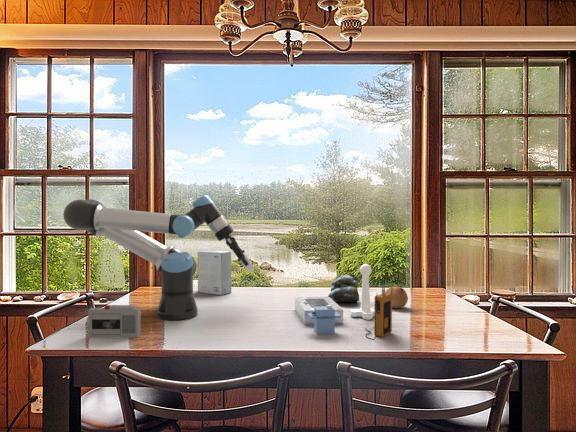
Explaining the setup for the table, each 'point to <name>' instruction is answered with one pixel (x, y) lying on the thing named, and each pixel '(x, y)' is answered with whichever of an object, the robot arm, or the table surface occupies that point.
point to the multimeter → (382, 313)
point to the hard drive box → (214, 272)
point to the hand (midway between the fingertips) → (251, 269)
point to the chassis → (308, 303)
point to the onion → (398, 297)
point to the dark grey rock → (345, 289)
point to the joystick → (364, 295)
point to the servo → (324, 319)
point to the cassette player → (114, 321)
